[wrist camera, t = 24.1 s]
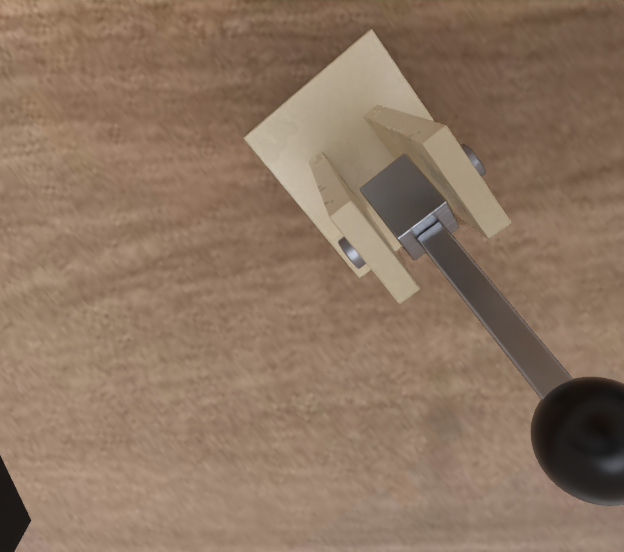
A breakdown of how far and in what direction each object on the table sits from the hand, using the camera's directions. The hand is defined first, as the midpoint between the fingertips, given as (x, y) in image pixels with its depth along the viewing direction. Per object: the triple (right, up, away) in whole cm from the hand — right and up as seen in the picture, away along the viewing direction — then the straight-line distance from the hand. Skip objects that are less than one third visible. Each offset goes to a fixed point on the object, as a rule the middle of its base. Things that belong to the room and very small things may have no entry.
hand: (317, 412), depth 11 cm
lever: (+7, +1, +9) cm, 11 cm away
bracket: (+3, +10, +21) cm, 23 cm away
